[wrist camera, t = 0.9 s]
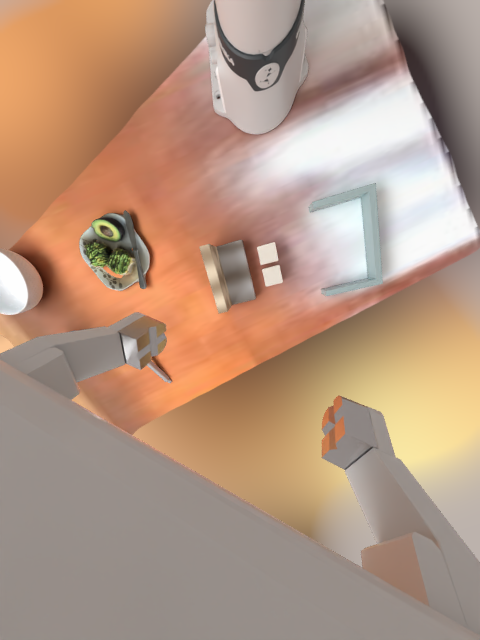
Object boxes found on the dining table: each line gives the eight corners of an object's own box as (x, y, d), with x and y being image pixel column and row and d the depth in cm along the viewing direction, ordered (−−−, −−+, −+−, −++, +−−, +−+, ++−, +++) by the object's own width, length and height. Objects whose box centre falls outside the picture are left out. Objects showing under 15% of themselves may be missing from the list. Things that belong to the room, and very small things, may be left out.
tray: (308, 206, 43) (312, 202, 40) (366, 189, 41) (375, 182, 38) (321, 293, 48) (326, 296, 45) (373, 282, 46) (382, 283, 43)
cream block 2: (261, 269, 48) (262, 269, 44) (277, 264, 47) (279, 264, 44) (265, 284, 49) (265, 286, 45) (281, 280, 48) (282, 282, 45)
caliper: (126, 330, 57) (110, 338, 51) (128, 328, 57) (113, 336, 51) (170, 382, 60) (160, 395, 54) (172, 380, 60) (163, 393, 54)
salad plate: (171, 271, 51) (163, 272, 46) (123, 305, 55) (111, 309, 50) (124, 201, 47) (110, 195, 43) (76, 243, 51) (59, 241, 47)
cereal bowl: (-12, 268, 55) (-50, 268, 49) (24, 236, 52) (-11, 232, 45) (30, 318, 59) (0, 325, 52) (67, 292, 55) (40, 296, 48)
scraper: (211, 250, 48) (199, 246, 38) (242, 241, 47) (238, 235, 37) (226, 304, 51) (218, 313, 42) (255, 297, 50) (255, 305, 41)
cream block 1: (257, 248, 47) (256, 246, 43) (273, 243, 46) (274, 241, 42) (260, 264, 48) (260, 265, 44) (277, 260, 47) (278, 260, 43)
